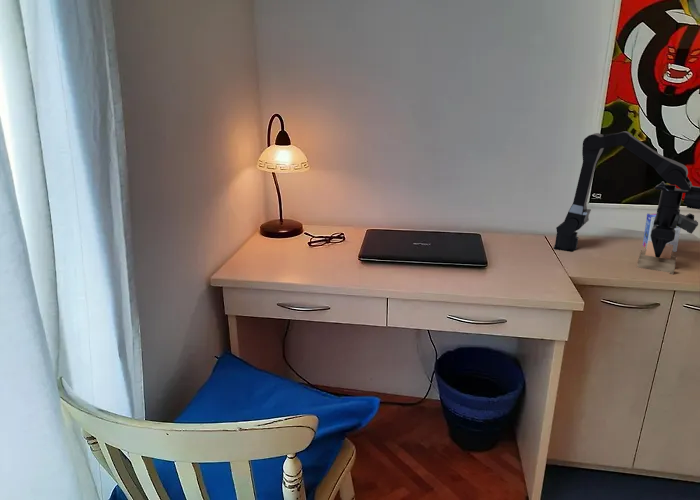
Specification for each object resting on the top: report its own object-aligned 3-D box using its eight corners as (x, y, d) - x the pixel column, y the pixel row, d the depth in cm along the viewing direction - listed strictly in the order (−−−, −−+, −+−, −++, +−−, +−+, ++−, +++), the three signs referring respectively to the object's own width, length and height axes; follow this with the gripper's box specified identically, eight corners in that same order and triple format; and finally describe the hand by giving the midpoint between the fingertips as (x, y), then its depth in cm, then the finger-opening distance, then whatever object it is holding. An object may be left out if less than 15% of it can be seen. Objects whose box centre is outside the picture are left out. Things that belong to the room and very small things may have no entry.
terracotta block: (643, 263, 172) (647, 242, 170) (644, 261, 174) (648, 240, 172) (668, 268, 168) (673, 246, 166) (668, 265, 170) (673, 244, 168)
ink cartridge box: (671, 247, 187) (679, 207, 182) (677, 252, 182) (685, 211, 177) (640, 246, 189) (647, 206, 184) (645, 251, 184) (652, 210, 179)
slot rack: (636, 267, 168) (638, 258, 167) (639, 258, 176) (641, 250, 175) (673, 274, 163) (675, 265, 162) (674, 265, 171) (676, 256, 170)
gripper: (700, 215, 153) (687, 267, 158) (699, 203, 168) (688, 250, 174) (656, 210, 159) (645, 259, 164) (659, 198, 174) (649, 243, 179)
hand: (658, 253), depth 170 cm, fingers open, 9 cm apart
